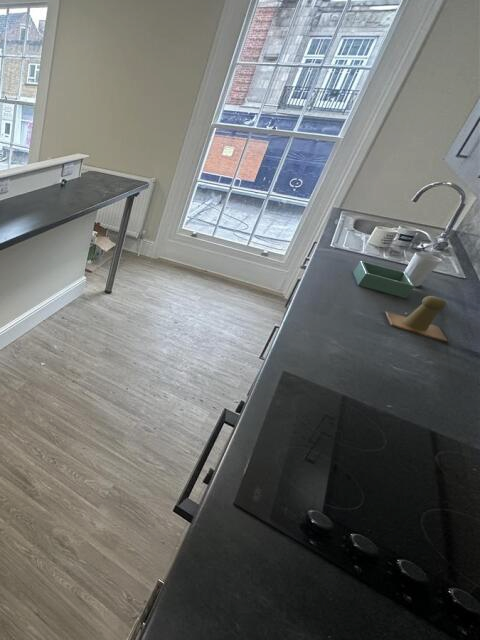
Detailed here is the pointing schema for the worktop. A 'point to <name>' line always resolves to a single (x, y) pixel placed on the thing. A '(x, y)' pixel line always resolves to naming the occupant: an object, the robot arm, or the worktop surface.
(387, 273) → the basin
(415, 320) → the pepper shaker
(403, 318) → the mat
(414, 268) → the cup
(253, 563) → the worktop surface
